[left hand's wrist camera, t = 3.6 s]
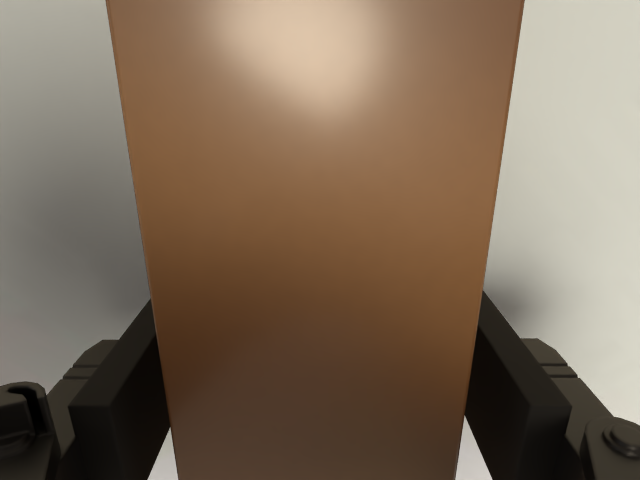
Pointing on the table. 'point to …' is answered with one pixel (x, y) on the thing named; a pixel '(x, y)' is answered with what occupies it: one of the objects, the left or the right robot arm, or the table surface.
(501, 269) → the table surface
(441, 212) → the post
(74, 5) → the table surface
